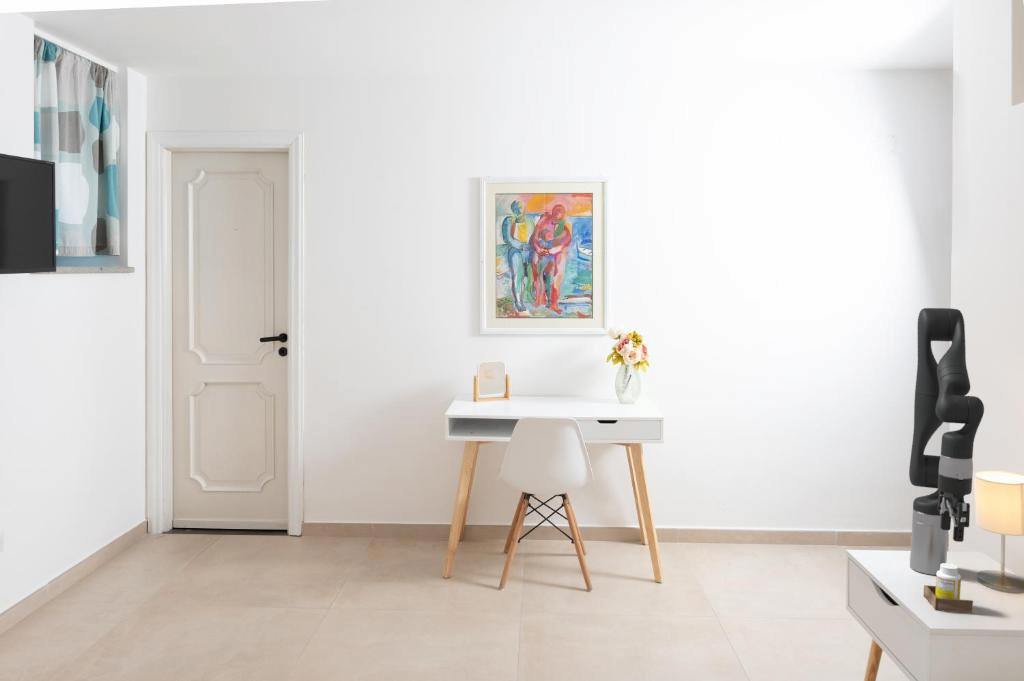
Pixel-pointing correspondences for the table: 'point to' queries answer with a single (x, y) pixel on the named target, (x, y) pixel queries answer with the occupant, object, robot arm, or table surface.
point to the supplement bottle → (948, 582)
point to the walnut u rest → (946, 601)
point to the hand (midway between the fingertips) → (951, 535)
